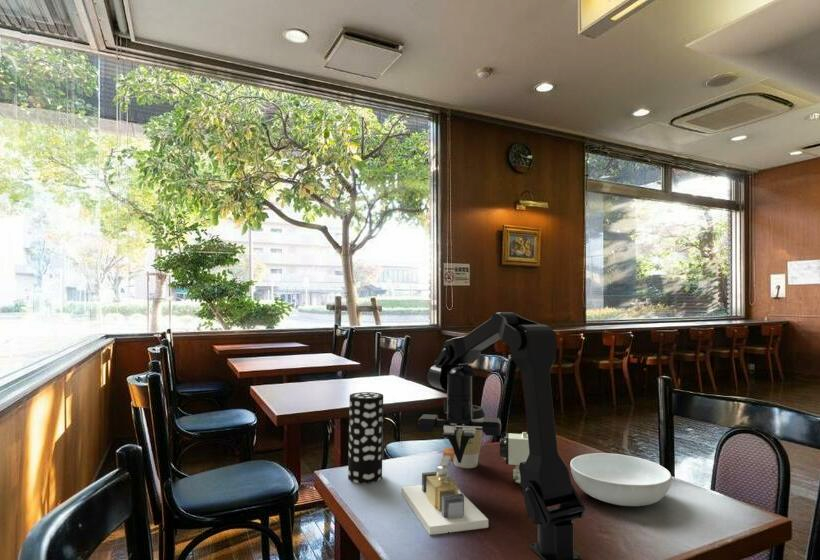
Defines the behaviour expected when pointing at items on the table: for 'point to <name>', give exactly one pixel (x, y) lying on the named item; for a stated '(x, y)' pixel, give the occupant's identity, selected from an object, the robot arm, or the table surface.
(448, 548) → the table surface
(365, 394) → the spotted tube
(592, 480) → the serving bowl
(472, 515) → the base plate
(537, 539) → the robot arm
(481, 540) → the table surface
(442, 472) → the valve lever
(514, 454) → the pneumatic valve
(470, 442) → the coffee cup
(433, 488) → the valve pipe run
